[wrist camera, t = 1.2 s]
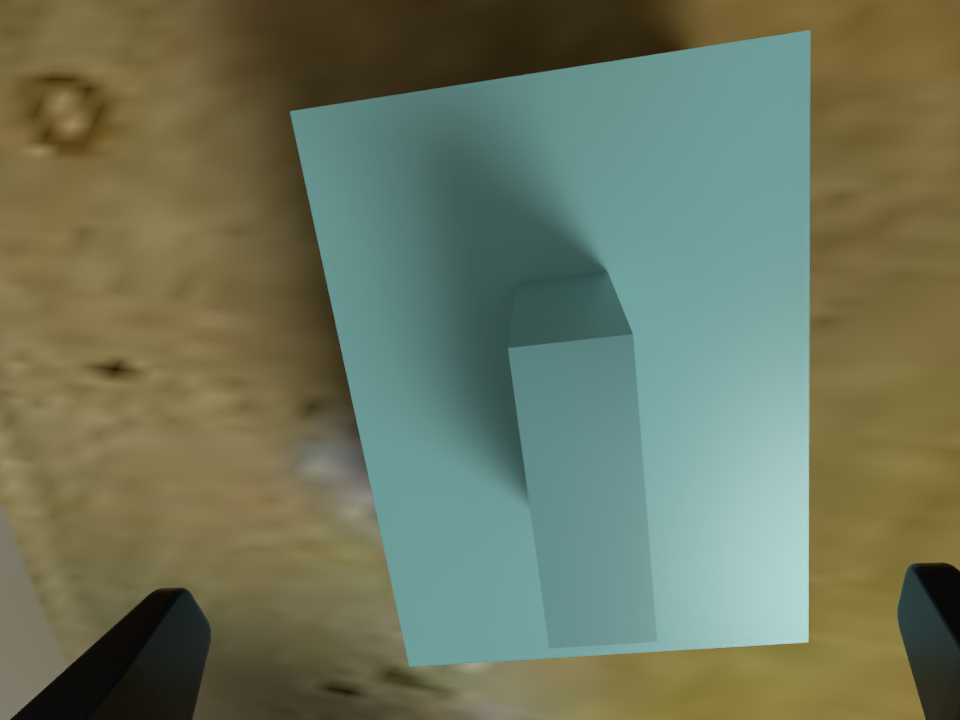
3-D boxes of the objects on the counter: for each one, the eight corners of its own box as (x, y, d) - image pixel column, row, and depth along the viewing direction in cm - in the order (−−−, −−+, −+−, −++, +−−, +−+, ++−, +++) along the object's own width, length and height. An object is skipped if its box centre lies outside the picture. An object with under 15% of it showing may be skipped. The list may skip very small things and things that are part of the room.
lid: (780, 585, 21) (888, 801, 14) (422, 611, 22) (374, 819, 16) (773, 39, 16) (928, -1, 10) (320, 110, 17) (193, 115, 11)
